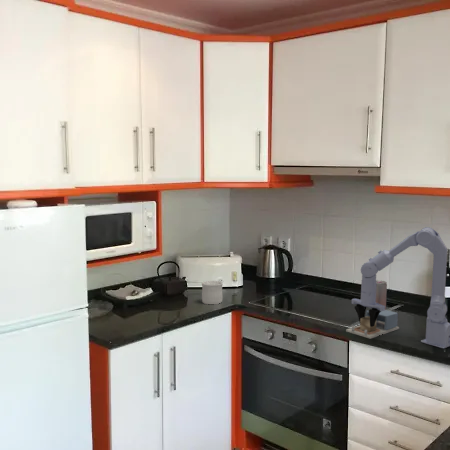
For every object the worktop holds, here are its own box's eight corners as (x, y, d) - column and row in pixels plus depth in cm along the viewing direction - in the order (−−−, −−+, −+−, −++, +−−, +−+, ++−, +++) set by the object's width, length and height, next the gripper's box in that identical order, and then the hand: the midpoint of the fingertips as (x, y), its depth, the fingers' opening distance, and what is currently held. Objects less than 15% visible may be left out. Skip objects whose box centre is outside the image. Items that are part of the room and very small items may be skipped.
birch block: (376, 329, 219) (376, 318, 219) (369, 331, 216) (369, 320, 216) (366, 326, 223) (367, 316, 222) (360, 329, 220) (360, 318, 219)
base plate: (398, 328, 224) (399, 322, 224) (370, 338, 211) (370, 331, 211) (374, 322, 233) (375, 315, 233) (346, 331, 220) (346, 324, 220)
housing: (397, 326, 224) (397, 312, 224) (386, 329, 219) (386, 316, 218) (376, 320, 232) (377, 307, 231) (365, 324, 227) (365, 310, 226)
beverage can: (369, 314, 245) (370, 281, 243) (376, 311, 249) (377, 279, 247) (381, 317, 241) (382, 283, 239) (387, 314, 245) (389, 281, 243)
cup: (226, 302, 262) (226, 282, 261) (211, 306, 255) (212, 285, 254) (212, 298, 269) (212, 279, 268) (197, 302, 262) (198, 282, 261)
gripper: (390, 293, 214) (388, 327, 216) (359, 286, 225) (358, 318, 227) (379, 296, 210) (378, 330, 211) (348, 289, 221) (347, 321, 222)
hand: (367, 324), depth 219 cm, fingers closed on birch block, 4 cm apart
